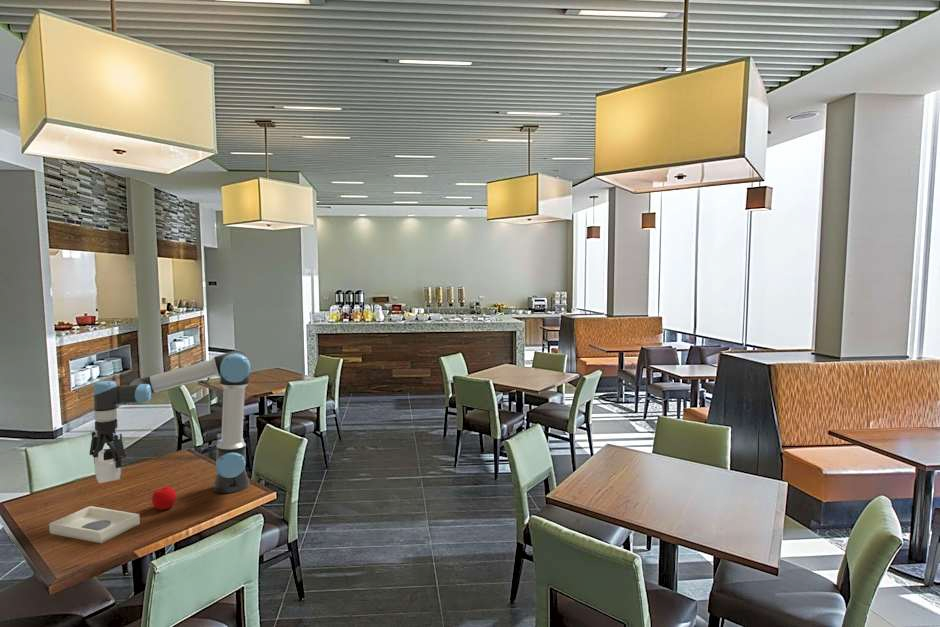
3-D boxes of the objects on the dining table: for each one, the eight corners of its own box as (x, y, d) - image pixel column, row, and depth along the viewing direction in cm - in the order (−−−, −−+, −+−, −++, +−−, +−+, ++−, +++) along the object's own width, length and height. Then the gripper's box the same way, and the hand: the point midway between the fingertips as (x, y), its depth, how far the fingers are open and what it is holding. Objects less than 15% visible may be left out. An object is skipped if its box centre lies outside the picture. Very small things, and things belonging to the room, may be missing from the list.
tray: (139, 524, 208) (139, 514, 208) (101, 543, 193) (100, 532, 193) (90, 515, 216) (90, 506, 216) (49, 533, 201) (49, 523, 200)
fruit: (154, 505, 226) (153, 482, 225) (177, 501, 229) (177, 479, 228) (150, 514, 217) (149, 490, 216) (175, 510, 221) (174, 487, 220)
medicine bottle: (116, 474, 219) (115, 446, 218) (120, 479, 213) (119, 450, 213) (96, 478, 214) (95, 449, 213) (98, 483, 209) (97, 454, 208)
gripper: (135, 419, 212) (136, 474, 214) (95, 415, 219) (97, 467, 221) (117, 424, 205) (119, 480, 206) (77, 419, 212) (79, 473, 213)
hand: (108, 473), depth 213 cm, fingers closed on medicine bottle, 9 cm apart
